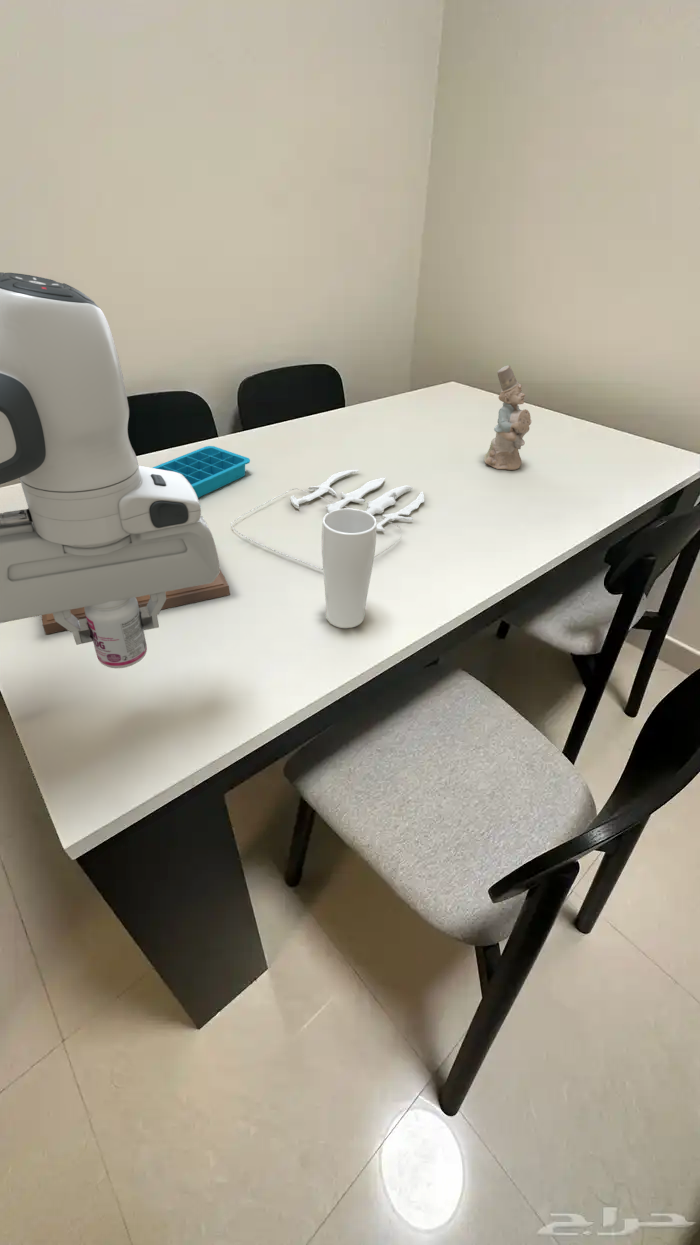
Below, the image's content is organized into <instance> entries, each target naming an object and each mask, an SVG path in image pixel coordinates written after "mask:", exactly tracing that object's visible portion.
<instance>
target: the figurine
mask: <svg viewBox="0 0 700 1245" xmlns="http://www.w3.org/2000/svg"><path fill="white" fill-rule="evenodd" d="M497 377H498V381H499V385H500V388H501V392H500V394H499V395H498V400H499V401H500V402H502V405H501V407H500V408H499V409H498V418H497V424H496V425H495V426H494V427H493V430H494V433H495V437H493V438H492V439H491V441H490V445H489V448H488V450H487V452H486V453H485V454H484V455H483V460H484V463H485V464H486V465H488V466H490V467H492V468H494V469H497V470H507V471H509V470H510V471H511V470H513V471H514V470H518V469H519V468H520V467H521V465H522V457H521V455H520V450H521V448H522V447H523V446H524V445H525V442H526V441H525V440H524V439H523V438H524V437H525V435H526V434H527V433H528V432H529V431H530V425H531V424H532V422H533V420H532V419H531V418H532V417H531V413H530V411H529V410H528V409H520V406H519V405H524V404H525V397H526V394H525V393H523V392H522V387H523V385H522V384H521V383H519V381H518V380H517V378H516V375H515V374H514V371H513V369H512V367H511V365H510V364H509V365H508V364H507V365H505V366H502V367H501V368H499V369H498V370H497Z"/></svg>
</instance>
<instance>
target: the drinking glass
mask: <svg viewBox="0 0 700 1245" xmlns="http://www.w3.org/2000/svg"><path fill="white" fill-rule="evenodd" d="M351 508H352V507H349V508H347V507H343V508H341V509H337V510H333V511H331V512H327V513H325V515H324V516H323V517H322V522H321V523H322V524H321V561H322V562H321V563H322V569H323V570H322V573H323V574H322V575H323V586H324V587H323V588H324V598H325V599H324V600H325V618H326V620H327V621H328V623H330V624H331V625H332V626H334V627H336V628H340V629H352V628H355V627H358V626H359V625H360V624H361V623H363V621H364V620H365V617H366V616H365V615H366V605H367V600H368V593H369V588H370V582H371V577H372V572H373V567H374V566H373V565H374V561H375V558H374V557H375V556H376V555H375V554H376V546H377V532H378V531H377V523H378V522H377V518H375V517H374V516H375V515H373V516H372V515H371V514H369V513H368V512H365V511H366V510H362V509H358V508H352V509H351Z"/></svg>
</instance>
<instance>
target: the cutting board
mask: <svg viewBox="0 0 700 1245" xmlns="http://www.w3.org/2000/svg"><path fill="white" fill-rule="evenodd" d="M165 593H166V601H165V603H164V605H163V607H162V608H161V610H166V609H170V608H175V607H179V606H184V605H185V606H186V605H190V604H194V603H199V602H203V601H208V600H213V599H217V598H222V597H226V596H230V595H231V593H230V585H229V583H228V581H227V579H226V577H225V575H224V573H223V572H222V570H221V569H220V572H219V574H218V576H217V577H216V579H215V580H214V581H213V582H212V583H208V584H203V585H197V586H192V587H187V588H182V589H176V590H171V591H166V592H165ZM135 598H136V599H137V602H138V606H139V608H141V607H145V606H147V604H148V602H149V599H150V595H145V596H140V597H135ZM70 611H71V614H72V615H74V616H75V617H76V618H77V619H78V620H79V619H85V618H86V615H85V607H82V608H77V609H71V610H70ZM41 622H42V628H43V630H44V633H45V635H51V634H55V633H59V632H64V631H68V630H67V629H66V628H64V627H63V626H62V625H60V624H59V623H57V622H56V621H55V619H54V616H53V613H50V614H45V615H41Z"/></svg>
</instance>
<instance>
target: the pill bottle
mask: <svg viewBox="0 0 700 1245" xmlns="http://www.w3.org/2000/svg"><path fill="white" fill-rule="evenodd" d="M85 615H86V619H87V622H88V625H89V628H90V632H91V635H92V639H93V641H92V643H93V647H94V650H95V654H96V657H97V660H98V661H99V663H100V664H102V665H103V666H105V667H107V668H110V669H125V668H129V667H132V666H133V665H136V664H137V663H139V662H140V661H141V660H143V658H144V657H145V656H146V654H147V652H148V645H147V641H146V640H147V639H146V636H145V635H146V634H145V630H143V625H142V620H141V615H140V610H139V606H138V602H137V599H136V598H135V597H134V598H129V599H124V600H118V601H109V602H106V603H103V604H98V605H92V606H87V607H85Z"/></svg>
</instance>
